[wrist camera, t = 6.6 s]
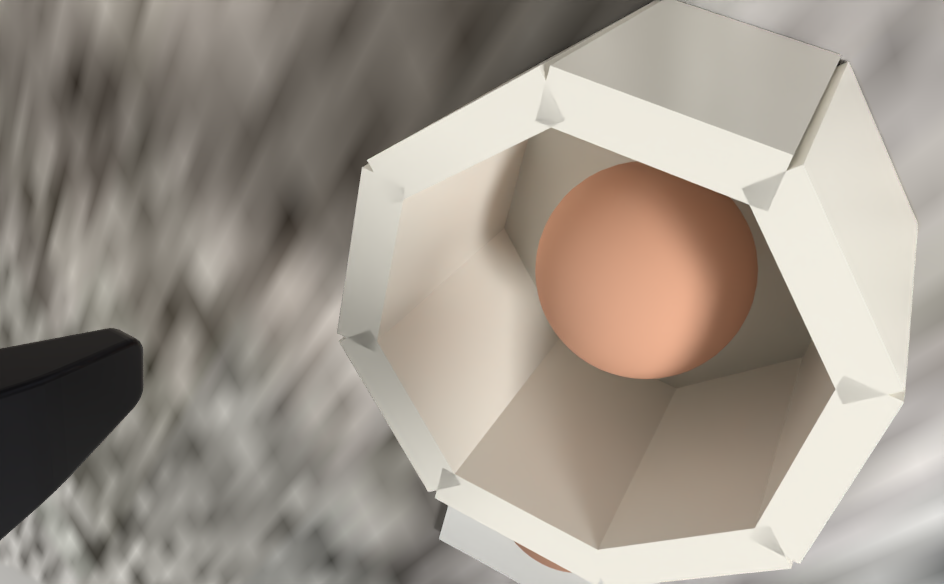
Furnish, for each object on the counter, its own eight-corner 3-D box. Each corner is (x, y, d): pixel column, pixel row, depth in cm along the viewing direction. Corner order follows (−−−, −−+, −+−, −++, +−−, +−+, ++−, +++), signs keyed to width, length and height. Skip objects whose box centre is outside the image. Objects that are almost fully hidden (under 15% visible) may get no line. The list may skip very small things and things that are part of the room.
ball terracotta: (808, 179, 16) (776, 266, 13) (728, 347, 18) (684, 458, 15) (608, 104, 17) (532, 168, 14) (555, 272, 19) (479, 361, 16)
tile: (709, 486, 20) (704, 499, 20) (631, 636, 24) (626, 649, 23) (487, 378, 22) (479, 388, 22) (443, 532, 25) (435, 543, 25)
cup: (991, 104, 15) (1012, 234, 10) (789, 455, 19) (736, 661, 14) (545, -44, 17) (386, 4, 12) (460, 302, 21) (321, 436, 17)
